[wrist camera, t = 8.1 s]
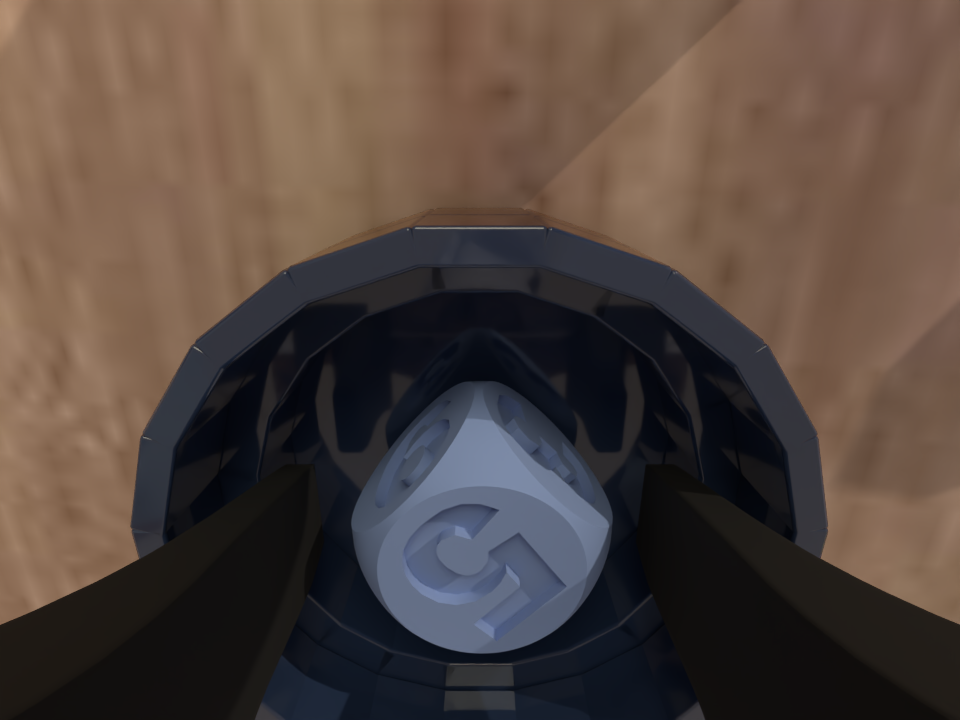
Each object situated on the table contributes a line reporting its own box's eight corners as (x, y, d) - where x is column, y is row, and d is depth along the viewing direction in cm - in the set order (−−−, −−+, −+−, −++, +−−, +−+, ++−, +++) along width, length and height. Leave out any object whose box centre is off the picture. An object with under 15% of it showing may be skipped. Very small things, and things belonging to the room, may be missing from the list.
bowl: (205, 206, 11) (42, 225, 7) (753, 206, 11) (916, 226, 7) (278, 624, 16) (203, 793, 11) (680, 624, 16) (755, 793, 11)
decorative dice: (483, 549, 14) (485, 688, 10) (370, 461, 13) (325, 578, 9) (593, 456, 13) (639, 573, 9) (478, 354, 12) (478, 436, 8)
